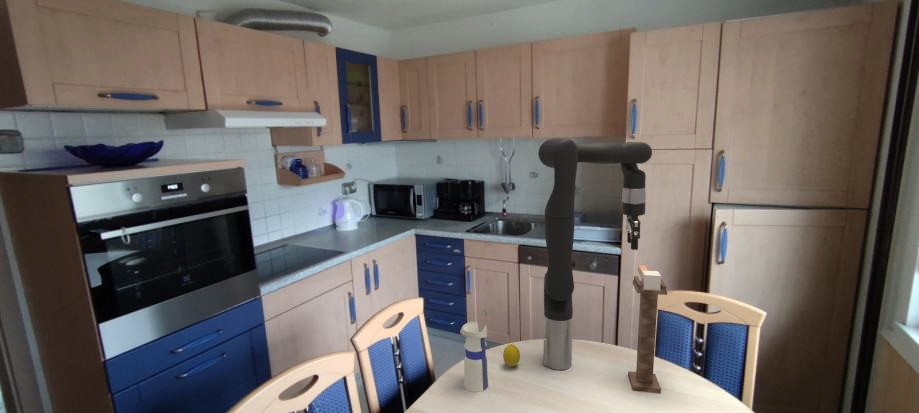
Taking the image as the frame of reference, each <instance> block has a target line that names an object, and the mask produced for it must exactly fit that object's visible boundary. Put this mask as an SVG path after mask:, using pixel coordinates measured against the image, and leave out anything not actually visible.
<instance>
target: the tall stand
mask: <svg viewBox="0 0 919 413" xmlns="http://www.w3.org/2000/svg"><path fill="white" fill-rule="evenodd" d="M632 286H633V287H634V289H635V292H636V294H639V311H638V313H639V314H638V330H637V332H638V333H637V346H636V347H637V351H636V366H635V367H636V370H635V371H633V370H632V371H631V370H630V371H628V372H627V378H628V380H629V381H628V382H629V384H630V387H631V390H632V391H634V392H636V391H637V392H644V393H646V392H647V393H654V394H661V393H662V387H661V385H660V381H659V380H658V377H657V375H656V373H654V364H655V349H656V348H655V347H656V330H657V313H658V300H659V299H658V297H659V295H660V296H661V295H665V296H667V295H668V290H667V289H668V288H667V285H666V284H665V283H664V281H663V279H662V278H661V286H660V291H659V290H644V289H643V287H642V284H641V280H640V279H639V277H638V276H637V275H633V279H632Z"/></svg>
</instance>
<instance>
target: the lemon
mask: <svg viewBox="0 0 919 413" xmlns="http://www.w3.org/2000/svg"><path fill="white" fill-rule="evenodd" d="M502 355H503V356H502V357H503V361H504V363H505V364H506V365H507V366H510V367H511V368H512V367H515V366H516V365H518V363H519V362H520V361H521V352H520V349H519V348H518V347H517V346H516V345H515V344H508V345H507V346H506V347H505V348H504V350H503V354H502Z"/></svg>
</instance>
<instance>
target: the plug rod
mask: <svg viewBox="0 0 919 413" xmlns="http://www.w3.org/2000/svg"><path fill="white" fill-rule="evenodd" d="M637 272H638V274H639V275H640V277H641V280H640V281H641V284H642V287H643V289H644V290H659V291H660V286H661V279H662V275H661V274H660V272H659V271H657V270H648V268H647V267H646V265H644V264H643V265H640V264H639V265H637Z"/></svg>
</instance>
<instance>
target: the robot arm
mask: <svg viewBox="0 0 919 413" xmlns="http://www.w3.org/2000/svg"><path fill="white" fill-rule="evenodd" d="M652 155H653V149H652V147H651V145H649V144H648V143H646V142H640V141H627V142H617V141H599V142H581V143H580V142H578V143H577V142H576V143H575V141H574V140H572V139H571V138H565V137H564V138H563V137H562V138H561V137H560V138H556V137H555V138H549V139H547V140H545V141H543V142H542V144H540V146H539V149H538V160H540V162H541V163H542V165H544V166H545V167H548V168H551V169H553V171H554V172H553V174H554V175H553V177H554V178H553V182H554V183H553V188H552V191H551V194H550V196H549V198H548V200H547V202H546V204H545V209H544V235H545V236H544V237H545V238H544V239H545V244H546V251H547V252H546V253H547V271H546V272H545V274H544V278H543V312H544V313H543V355H542V356H543V358H542V359H543V360H542V361H543V367H547V368H549V369H553V370H557V371H563V370H567V369H569V368H571V367H572V363H573V362H572V361H573V360H572V359H573V357H572V356H573V355H572V354H573V352H572V351H573V322H574V321H573V318H574V317H573V314H574V310H573V309H574V308H573V293H574V289H575V282H574V273H573V249H574V237H575V199H576V198H575V196H576V195H575V194H576V178H577V170H578V163H587V164H598V165H599V164H600V165H601V164H602V165H603V164H604V165H606V164H607V165H609V164H611V165H613V164H620V168H621V171H622V175H623V179H622V180H623V181H622V182H623V184H622V185H623V187H622V195H621V196H622V197H621V214H622V215H624V216H626V224H625V225H626V226H625V228H626V232H627V234H626V235H627V236H626V237H627V238H626V239H627V240H626V242H627V244H630V249H631V250H633V251H638V249H639V239H641V220H639V217H640V216H644V215H645V214H646V204H647V202H646V198H647V196H646V195H647V193H646V179H647V178H646V172H645V171H644V170H642V169H639V166H638V164H644V163H647V162H648V161H649V160H650V159H651V157H652Z"/></svg>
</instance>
